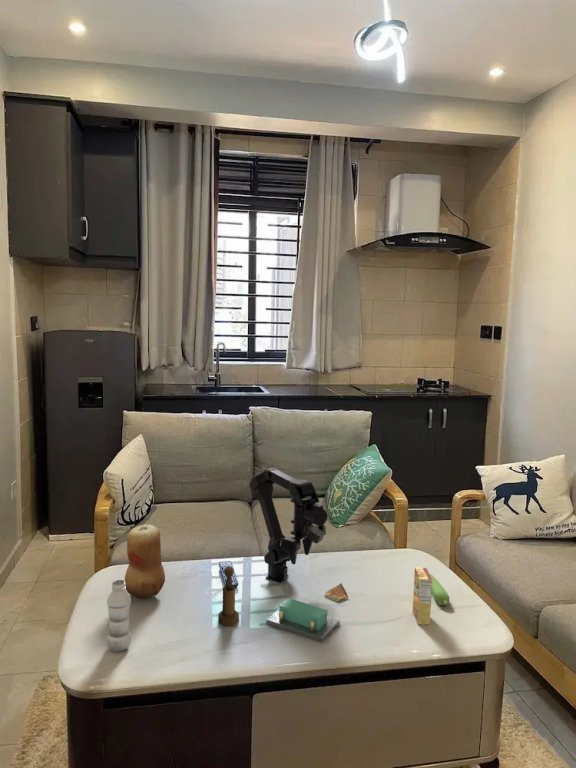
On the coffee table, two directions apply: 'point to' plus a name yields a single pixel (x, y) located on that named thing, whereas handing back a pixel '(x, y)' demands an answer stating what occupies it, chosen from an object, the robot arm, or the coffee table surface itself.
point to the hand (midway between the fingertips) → (300, 559)
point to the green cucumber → (439, 592)
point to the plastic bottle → (118, 617)
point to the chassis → (303, 627)
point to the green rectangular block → (303, 613)
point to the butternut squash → (144, 562)
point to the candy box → (422, 596)
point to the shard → (337, 593)
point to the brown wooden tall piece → (228, 602)
